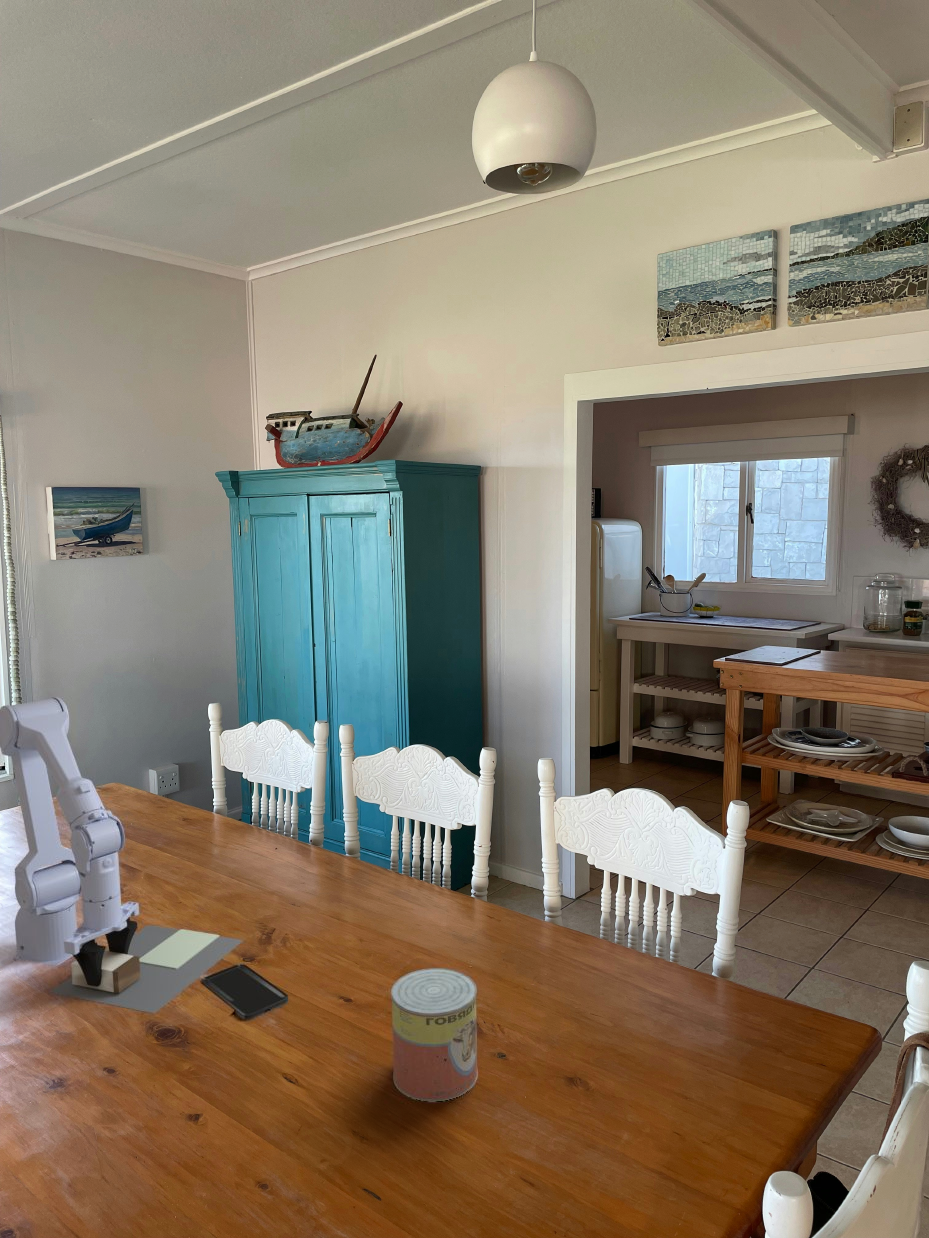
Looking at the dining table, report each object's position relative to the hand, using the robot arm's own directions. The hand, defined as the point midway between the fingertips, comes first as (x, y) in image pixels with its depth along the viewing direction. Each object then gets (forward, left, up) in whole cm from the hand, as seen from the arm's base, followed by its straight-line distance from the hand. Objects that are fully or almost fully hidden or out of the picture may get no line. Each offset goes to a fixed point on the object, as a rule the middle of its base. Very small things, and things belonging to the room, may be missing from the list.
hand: (106, 975), depth 142 cm
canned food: (+58, -5, -2) cm, 58 cm away
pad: (+4, +13, -1) cm, 14 cm away
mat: (+3, +7, -2) cm, 8 cm away
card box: (0, 0, -1) cm, 1 cm away
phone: (+22, +5, -2) cm, 23 cm away
